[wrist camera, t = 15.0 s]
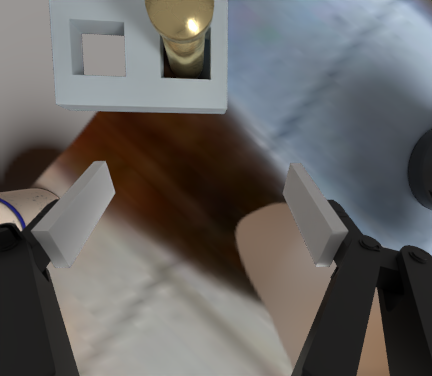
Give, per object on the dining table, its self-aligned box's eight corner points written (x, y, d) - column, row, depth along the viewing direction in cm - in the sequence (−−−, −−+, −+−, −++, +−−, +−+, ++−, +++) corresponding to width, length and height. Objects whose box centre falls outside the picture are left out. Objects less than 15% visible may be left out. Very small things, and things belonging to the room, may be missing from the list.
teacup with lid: (-6, 229, 31) (-125, 266, 20) (22, 174, 31) (-82, 180, 20) (72, 266, 33) (5, 320, 21) (100, 214, 33) (47, 240, 21)
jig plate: (225, 13, 31) (227, -3, 28) (224, 113, 33) (227, 108, 30) (62, 3, 29) (47, -15, 26) (69, 110, 31) (55, 104, 28)
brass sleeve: (208, 41, 31) (214, -35, 19) (208, 86, 32) (214, 39, 20) (164, 39, 31) (143, -40, 19) (165, 85, 31) (145, 35, 20)
